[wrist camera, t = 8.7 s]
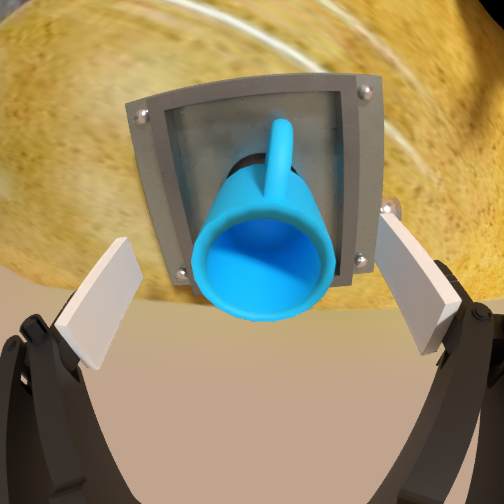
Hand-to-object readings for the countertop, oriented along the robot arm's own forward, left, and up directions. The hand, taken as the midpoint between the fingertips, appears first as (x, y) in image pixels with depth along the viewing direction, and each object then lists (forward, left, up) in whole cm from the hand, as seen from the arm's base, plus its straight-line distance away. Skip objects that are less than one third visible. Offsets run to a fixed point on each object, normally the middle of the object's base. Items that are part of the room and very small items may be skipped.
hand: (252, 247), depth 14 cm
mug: (+1, 0, -9) cm, 9 cm away
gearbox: (+2, 0, -15) cm, 15 cm away
